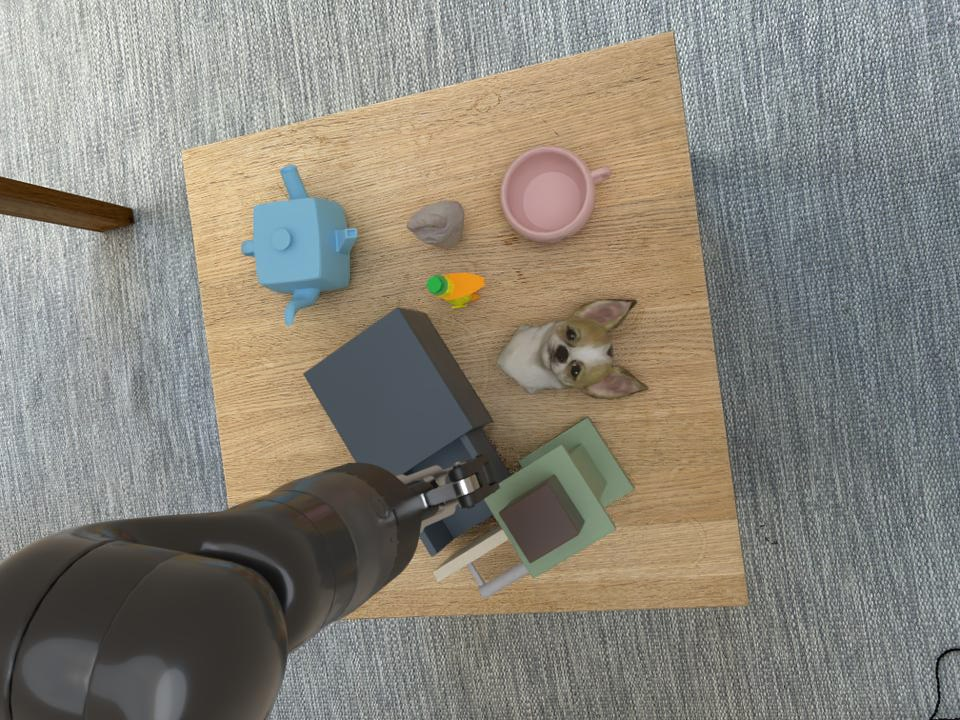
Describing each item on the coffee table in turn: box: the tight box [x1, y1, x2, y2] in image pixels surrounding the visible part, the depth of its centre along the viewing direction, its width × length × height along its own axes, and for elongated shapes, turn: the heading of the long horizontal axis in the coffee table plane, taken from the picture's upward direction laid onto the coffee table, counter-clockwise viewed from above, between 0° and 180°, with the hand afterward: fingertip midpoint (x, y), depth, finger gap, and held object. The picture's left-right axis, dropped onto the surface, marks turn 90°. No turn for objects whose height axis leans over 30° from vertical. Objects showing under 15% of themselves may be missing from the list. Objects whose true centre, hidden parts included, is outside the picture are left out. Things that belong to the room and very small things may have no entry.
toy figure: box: [426, 272, 486, 310], centre depth 81 cm, size 7×4×12 cm, turn 98°
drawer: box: [403, 427, 530, 600], centre depth 82 cm, size 18×11×8 cm, turn 33°
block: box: [499, 475, 585, 563], centre depth 60 cm, size 4×4×4 cm
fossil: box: [406, 200, 466, 249], centre depth 82 cm, size 6×4×10 cm, turn 123°
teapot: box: [240, 164, 359, 327], centre depth 86 cm, size 18×14×10 cm
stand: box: [484, 416, 636, 579], centre depth 73 cm, size 9×9×22 cm
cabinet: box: [302, 306, 494, 476], centre depth 83 cm, size 15×13×10 cm
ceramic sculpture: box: [496, 298, 650, 401], centre depth 80 cm, size 11×9×15 cm
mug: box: [499, 144, 613, 244], centre depth 81 cm, size 12×10×6 cm
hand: (421, 491), depth 58 cm, fingers open, 8 cm apart
